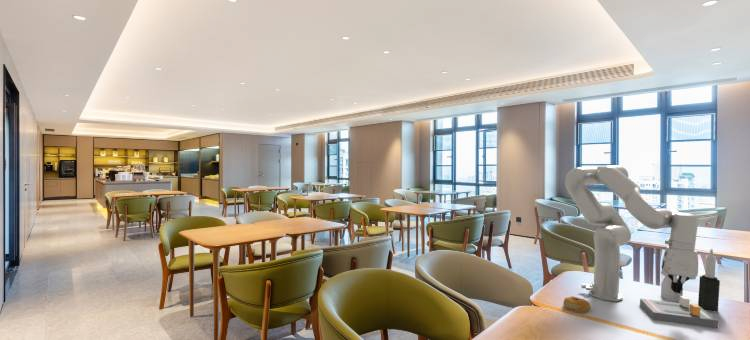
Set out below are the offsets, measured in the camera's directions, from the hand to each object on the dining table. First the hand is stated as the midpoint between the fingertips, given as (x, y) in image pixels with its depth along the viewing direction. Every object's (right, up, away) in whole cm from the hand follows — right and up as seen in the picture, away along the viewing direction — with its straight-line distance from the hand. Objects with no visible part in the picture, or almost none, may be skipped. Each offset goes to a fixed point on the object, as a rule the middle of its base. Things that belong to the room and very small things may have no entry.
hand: (676, 291), depth 141 cm
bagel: (-33, -10, +9) cm, 36 cm away
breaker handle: (+5, -8, -2) cm, 10 cm away
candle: (+22, -11, +11) cm, 27 cm away
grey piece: (+15, -10, +21) cm, 27 cm away
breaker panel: (+3, -11, +3) cm, 11 cm away
